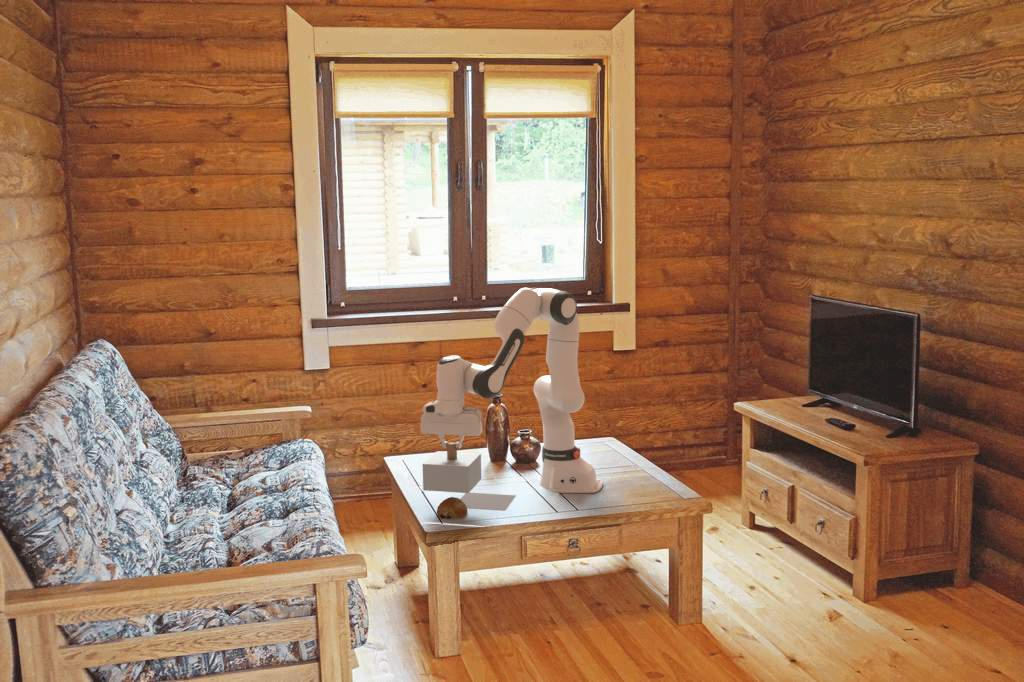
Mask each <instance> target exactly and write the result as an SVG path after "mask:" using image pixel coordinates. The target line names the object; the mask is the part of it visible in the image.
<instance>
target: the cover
mask: <svg viewBox="0 0 1024 682" xmlns="http://www.w3.org/2000/svg"><path fill="white" fill-rule="evenodd" d="M456 443H457V442H448V443H447V448H446V450H445V451H443V450H441V451H440V450H439V451H438V450H437V451H436V452H435V453H433V454H432V455H431V456H429V458H428V459H426V460H425V461H424V462H423V463H422V490H423V491H429V492H431V491H432V492H445V493H460V494H465V493H471V491H472V490H473V489H474V488H475V487H476V486H477V484H479V482H480V481H481V480H482V453H477V452H459V451H458V448H456Z"/></svg>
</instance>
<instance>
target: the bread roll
mask: <svg viewBox="0 0 1024 682" xmlns="http://www.w3.org/2000/svg"><path fill="white" fill-rule="evenodd" d="M468 513H469V512H468V508H467V506H466V505H465V503H464V502H463V501H462V500H461V498H459V497H454V496H451V497H447V498H445V499H444V500H442V501H441V502H440V503H439V505H438V506H437V510H436V515H437V517H439V518H440V519H446V520H451V519H452V520H455V519H456V520H457V519H462V518H464V517H466V516H467V515H468Z"/></svg>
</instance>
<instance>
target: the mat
mask: <svg viewBox="0 0 1024 682" xmlns="http://www.w3.org/2000/svg"><path fill="white" fill-rule="evenodd" d="M516 497H517V495H516V494H500V493H498V494H497V493H486V492H485V493H484V492H483V493H482V492H469V493H463V496H462V497H461V498H460V499H461V500H462V501H463V502H464V503H465V505H466V506H467V509H471V510H472V509H473V510H474V509H475V510H489V511H503V512H505V511H507V509H508V508H509V507H510V505H511V503H512V502H513V500H514V499H515V498H516Z"/></svg>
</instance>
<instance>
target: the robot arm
mask: <svg viewBox="0 0 1024 682" xmlns="http://www.w3.org/2000/svg"><path fill="white" fill-rule="evenodd" d="M577 303H578V302H577V299H576V298H575V296H574V295H573V294H571V293H570V292H568V291H565V290H559V289H555V288H548V287H547V288H545V287H544V288H543V287H538V286H536V287H531V288H530V287H522V288H520V289H519V290H518V291H516V292H515V293H514V294H513V295H512V296H511V297H510V298H509V299H508V300H507V302H506V303H504V305H503V307H502V308H501V309H500V311H499V312H498V313H497V315H496V317H495V319H494V329H495V333H496V334H497V336H498V337H499V338H500V339H501V340H502V344H501V347H500V348H499V350H498V352H497V354H496V355H495V358H494V359H493V361H492V362H491V363H490V364H488V365H481V364H480V363H479V364H478V363H475V362H470V361H468V360H465V359H464V358H462V357H461V356H459V355H457V354H456V355H453V354H452V355H447V356H444V357H442V358H440V359H439V360H438V363H437V366H436V377H435V381H436V387H437V395H436V400H433V401H429V402H427V403H425V404H424V405H423V407H422V412H423V413H422V414H421V417H420V431H421V433H422V434H423V435H425V434H427V435H428V434H429V435H430V434H431V435H438V440H439V441H440V442H441V446H442V448H444V449H445V448H446V449H447V443H449V441H446V439H445V435H447V436H450V435H451V436H458V439H459V441H456V442H455V443H456V448H457V449H461V448H462V447H463V446H462V444H463V443H462V442H463V440H464V439H465V437H478V436H480V435H481V434H482V433H483V424H482V418H483V413H482V412H483V411H482V410H481V409H479V408H478V407H476V406H474V407H471V406H465V393H470V394H473V395H477V396H479V397H481V398H483V399H486V400H490V399H491V400H492V399H494V398H496V397H497V396H499V394H501V392H502V390H503V388H504V385H505V384H506V383H505V382H506V380H507V376H508V374H509V372H510V370H511V368H512V366H513V365H514V363H515V362H516V360H517V358H518V356H519V354H520V352H521V350H522V348H523V345H524V343H525V339H526V337H525V336H526V332H527V331H528V329H529V328H530V327H531V325H532V323H533V322H534V320H535V319H539V320H542V321H546V322H547V323H548V331H547V332H548V333H547V342H546V353H545V361H546V364H547V367H548V372H549V374H546V375H541V376H540V377H538V378H537V379H536V380H535V382H534V383H533V393H534V396H535V398H536V400H537V404H538V408H539V412H540V418H541V420H542V421H541V423H542V431H543V436H542V437H543V439H542V440H543V442H542V443H543V446H542V449H541V459H542V471H541V477H540V480H539V486H540V487H542V488H543V489H547V490H549V491H550V492H555V493H558V494H562V493H563V494H566V493H567V494H570V493H571V494H574V493H575V494H577V493H579V494H584V493H585V494H587V493H588V494H589V493H591V494H592V493H597V492H598V491H600V490H601V489H602V488H603V481H602V480H601V479H600V478H597V473H596V470H595V467H594V466H593V465H592V464H591V463H589V462H587V461H586V460H585V459H584V458H582V457H581V447H577V446H576V445H575V424H574V421H573V419H572V417H571V414H573V413H576V412H579V411H580V410H581V409H582V408H583V406H584V404H585V399H586V398H585V393H584V391H583V389H582V387H581V380H580V376H579V367H578V355H579V345H580V342H579V341H580V320H579V315H578V313H577V311H578V304H577Z"/></svg>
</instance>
